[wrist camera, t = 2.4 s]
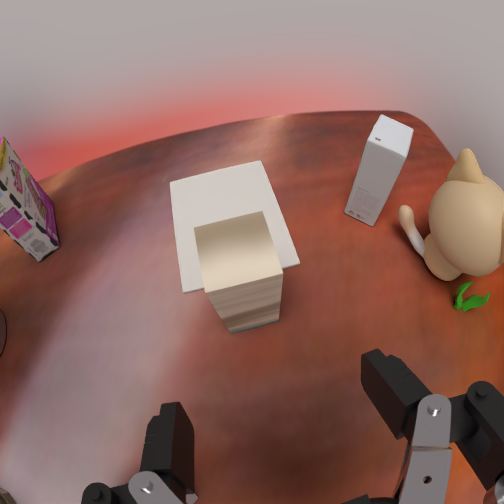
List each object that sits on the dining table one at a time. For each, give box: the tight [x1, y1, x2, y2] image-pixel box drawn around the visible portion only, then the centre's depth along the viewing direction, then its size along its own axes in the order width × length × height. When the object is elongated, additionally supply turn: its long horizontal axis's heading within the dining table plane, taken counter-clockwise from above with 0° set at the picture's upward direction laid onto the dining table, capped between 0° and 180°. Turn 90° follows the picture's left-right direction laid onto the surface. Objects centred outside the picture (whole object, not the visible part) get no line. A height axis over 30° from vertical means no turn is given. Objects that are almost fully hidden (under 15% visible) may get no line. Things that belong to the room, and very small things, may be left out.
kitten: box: [398, 148, 504, 312], centre depth 23 cm, size 15×10×15 cm
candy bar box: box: [0, 136, 60, 262], centre depth 29 cm, size 11×5×16 cm, turn 34°
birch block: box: [194, 211, 283, 334], centre depth 24 cm, size 5×5×12 cm
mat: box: [170, 160, 300, 294], centre depth 35 cm, size 16×13×1 cm
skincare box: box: [344, 115, 414, 227], centre depth 29 cm, size 6×4×12 cm
